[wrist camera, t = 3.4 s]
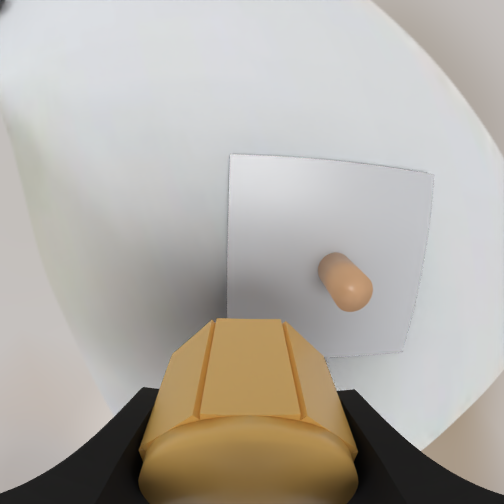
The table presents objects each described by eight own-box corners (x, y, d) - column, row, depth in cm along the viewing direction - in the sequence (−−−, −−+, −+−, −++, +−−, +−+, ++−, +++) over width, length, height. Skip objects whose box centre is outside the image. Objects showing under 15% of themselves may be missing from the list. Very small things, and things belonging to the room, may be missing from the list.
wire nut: (311, 428, 10) (333, 528, 6) (181, 426, 10) (161, 527, 6) (331, 318, 9) (386, 430, 5) (166, 315, 9) (112, 428, 4)
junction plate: (397, 345, 18) (423, 381, 14) (227, 349, 18) (223, 393, 14) (427, 173, 15) (469, 178, 11) (230, 154, 15) (225, 150, 11)
